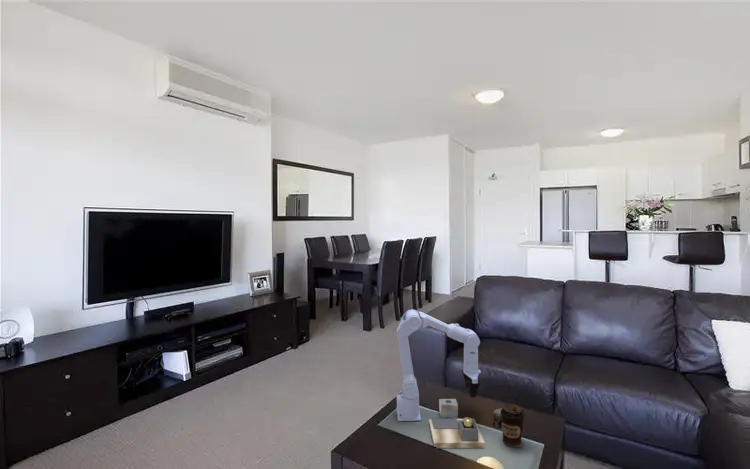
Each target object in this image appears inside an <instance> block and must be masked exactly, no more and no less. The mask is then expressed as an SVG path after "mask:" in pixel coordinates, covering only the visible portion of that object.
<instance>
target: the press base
mask: <svg viewBox="0 0 750 469" xmlns="http://www.w3.org/2000/svg"><path fill="white" fill-rule="evenodd" d="M471 419H472V428H464V418H429V419H428V425H429V429H430V435H431V439H432V444H433V447H436V448H435V449H485V447H486V446H485V443H486V442H485V440H484V438H483V436H482V434H481V431H480V429H479V427H478V425H477V423H476V420H475V418H471Z"/></svg>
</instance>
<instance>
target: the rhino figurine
mask: <svg viewBox="0 0 750 469" xmlns="http://www.w3.org/2000/svg"><path fill="white" fill-rule="evenodd" d="M502 408H503V407H501V408H497V409H495V410H493V412H492V417H493V424H494V423H495V424H494V427H495V428H500V425H499V422H500V421H501V409H502Z"/></svg>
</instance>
